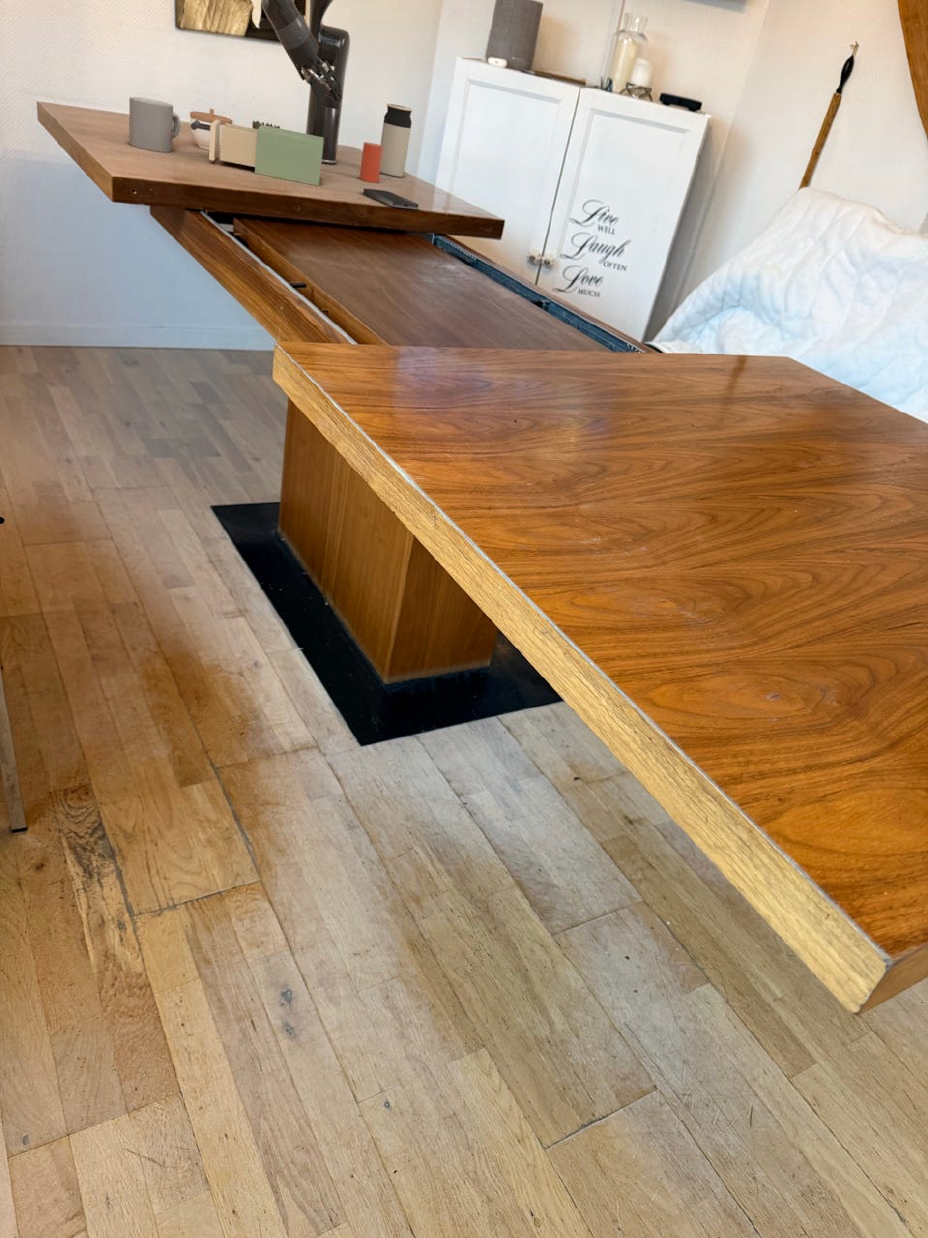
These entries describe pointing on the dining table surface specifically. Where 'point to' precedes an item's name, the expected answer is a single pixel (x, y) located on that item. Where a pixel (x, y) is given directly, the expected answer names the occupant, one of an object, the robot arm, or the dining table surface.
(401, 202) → the phone
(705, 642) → the dining table surface
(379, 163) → the tea tin
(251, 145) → the drawer
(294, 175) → the cabinet
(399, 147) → the travel mug
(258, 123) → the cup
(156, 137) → the coffee mug
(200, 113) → the lidded white pot
